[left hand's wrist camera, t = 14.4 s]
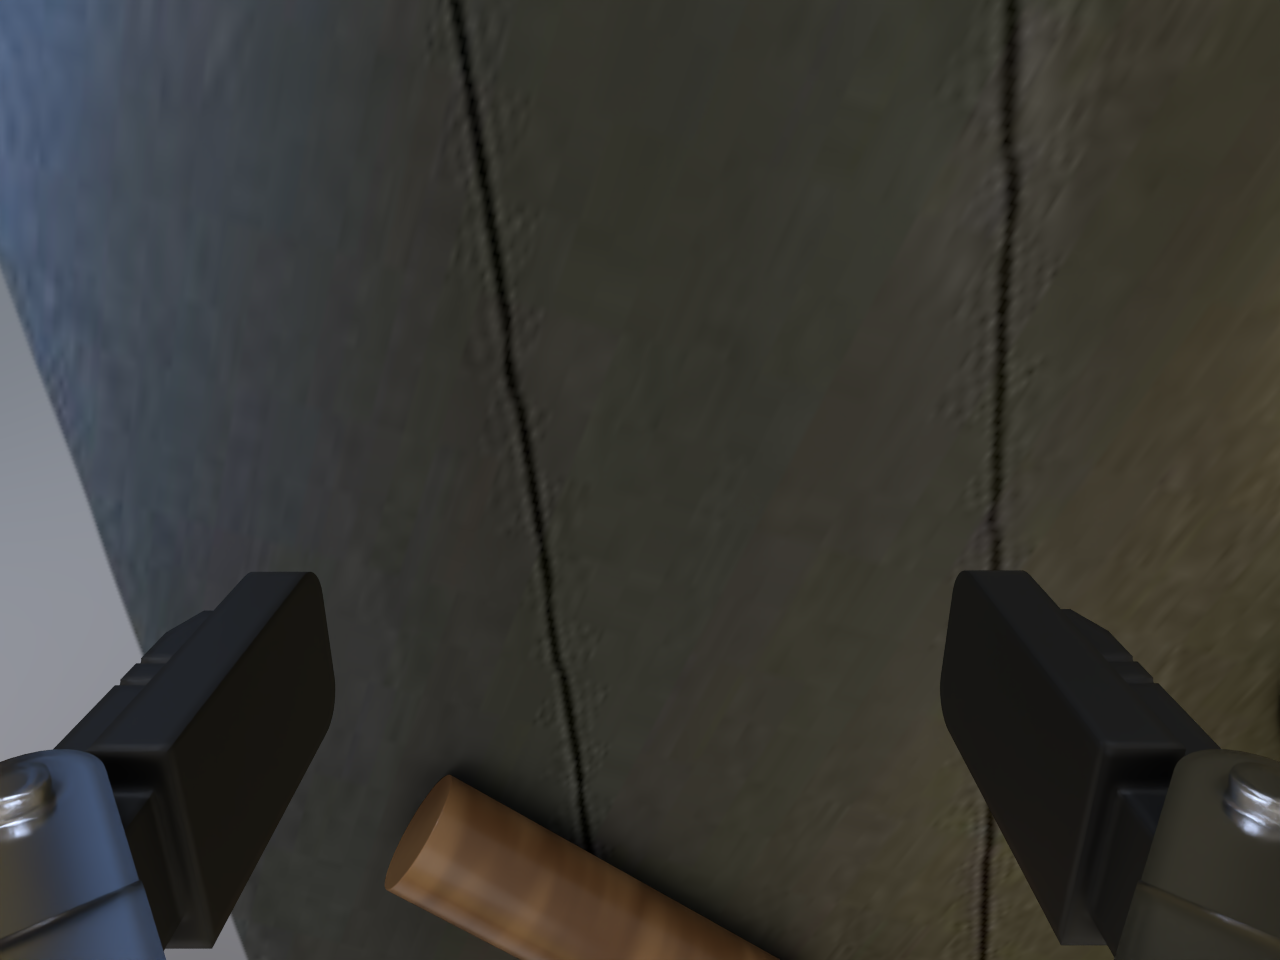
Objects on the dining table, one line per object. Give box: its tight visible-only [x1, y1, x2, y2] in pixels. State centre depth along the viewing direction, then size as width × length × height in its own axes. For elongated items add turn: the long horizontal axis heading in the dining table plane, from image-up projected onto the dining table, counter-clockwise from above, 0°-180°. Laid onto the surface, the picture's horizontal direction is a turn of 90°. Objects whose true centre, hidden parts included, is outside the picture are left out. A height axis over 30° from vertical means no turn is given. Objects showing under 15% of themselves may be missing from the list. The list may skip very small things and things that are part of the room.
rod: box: [385, 775, 780, 960], centre depth 48 cm, size 25×6×6 cm, turn 54°
